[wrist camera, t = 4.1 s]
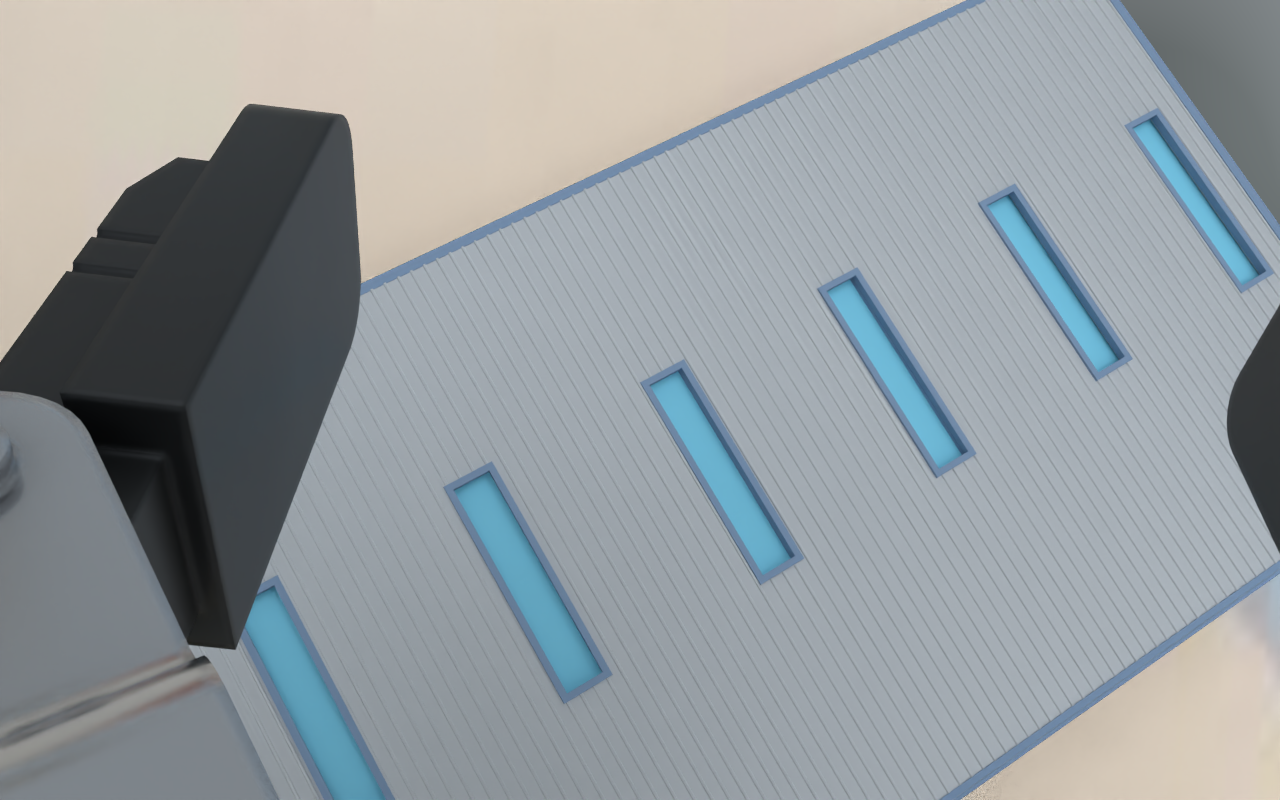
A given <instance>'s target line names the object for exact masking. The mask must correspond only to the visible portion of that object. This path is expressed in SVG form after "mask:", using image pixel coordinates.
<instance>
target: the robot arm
mask: <svg viewBox="0 0 1280 800" xmlns="http://www.w3.org/2000/svg"><path fill="white" fill-rule="evenodd" d="M360 290H361V272H360V256H359V241H358V226H357V211H356V195H355V180H354V165H353V150H352V139H351V133H350V128H349V124H348V122H347V119H346V118H345V117H344V116H343V115H341V114H333V113H325V112H316V111H308V110H300V109H291V108H283V107H275V106H266V105H258V104H249V105H247V106H246V107H245V108H244V109H243V110H242V111H241V113H240V114H239V116H238V118H237V119H236V121H235V122H234V124H233V125H232V127H231V128H230V130H229V131H228V133H227V134H226V136H225V138H224V139H223V141H222V142H221V144H220V145H219V147H218V148H217V150H216V151H215V153H214V155H213V156H212V158H211V159H210V161H204V160H196V159H188V158H179V157H178V158H176V159H174V160H173V161H171V162H169V163H168V164H166V165H165V166H163V167H161V168H160V169H158V170H156V171H155V172H153V173H151V174H150V175H148V176H146V177H145V178H143V179H142V180H140V181H138V182H137V183H135V184H133V185H132V186H130V187H128V188H127V189H126V190H125V191H124V193H123V194H122V195H121V197H120V198H119V200H118V201H117V202H116V204H115V205H114V206H113V208H112V209H111V211H110V212H109V213H108V215H107V216H106V217H105V219H104V220H103V222H102V223H101V224H100V226H99V227H98V229H97V238H96V237H91V238H90V240H89V241H88V242H87V244H86V245H85V246H84V248H83V249H82V251H81V252H80V253H79V255H78V256H77V257H76V259H75V260H74V262H73V270H72V272H70V271H66V273H65V274H64V275H63V277H62V278H61V279H60V281H59V282H58V284H57V285H56V286H55V288H54V289H53V290H52V292H51V293H50V295H49V296H48V297H47V299H46V300H45V301H44V303H43V304H42V306H41V307H40V308H39V310H38V311H37V312H36V314H35V315H34V317H33V318H32V319H31V321H30V322H29V323H28V325H27V326H26V328H25V329H24V330H23V332H22V333H21V334H20V336H19V337H18V339H17V340H16V341H15V343H14V344H13V345H12V347H11V348H10V350H9V351H8V352H7V354H6V355H5V357H4V358H3V359H2V361H1V362H0V800H280V799H279V797H278V795H277V793H276V791H275V789H274V787H273V785H272V783H271V781H270V778H269V776H268V774H267V772H266V770H265V768H264V766H263V764H262V762H261V760H260V758H259V756H258V753H257V751H256V749H255V747H254V745H253V743H252V741H251V739H250V737H249V735H248V733H247V731H246V729H245V726H244V724H243V722H242V720H241V718H240V716H239V714H238V712H237V710H236V708H235V706H234V704H233V701H232V699H231V697H230V695H229V693H228V691H227V689H226V687H225V685H224V683H223V682H222V680H221V678H220V676H219V674H218V672H217V671H216V669H215V668H214V666H213V664H212V663H211V662H210V660H209V659H208V658H207V657H206V656H205V655H203V656H201V657H198V658H195V656H194V654H193V653H192V651H191V649H190V647H189V645H193V646H203V647H212V648H221V649H231V650H236V648H237V645H238V642H239V640H240V637H241V635H242V632H243V629H244V627H245V624H246V621H247V619H248V616H249V614H250V611H251V608H252V606H253V603H254V600H255V598H256V595H257V593H258V590H259V587H260V585H261V582H262V579H263V577H264V574H265V572H266V569H267V566H268V564H269V561H270V558H271V556H272V553H273V551H274V548H275V545H276V543H277V540H278V537H279V535H280V532H281V529H282V527H283V524H284V522H285V519H286V516H287V514H288V511H289V508H290V506H291V503H292V501H293V498H294V495H295V493H296V490H297V487H298V485H299V482H300V480H301V477H302V474H303V472H304V469H305V466H306V464H307V461H308V459H309V456H310V453H311V451H312V448H313V445H314V443H315V440H316V438H317V435H318V432H319V430H320V427H321V424H322V422H323V419H324V417H325V414H326V411H327V409H328V406H329V403H330V401H331V398H332V396H333V393H334V390H335V388H336V385H337V382H338V380H339V377H340V375H341V372H342V369H343V367H344V364H345V361H346V359H347V356H348V354H349V351H350V348H351V345H352V342H353V338H354V335H355V330H356V325H357V319H358V313H359V304H360ZM1227 434H1228V440H1229V444H1230V448H1231V450H1232V453H1233V455H1234V457H1235V459H1236V461H1237V464H1238V466H1239V468H1240V470H1241V472H1242V474H1243V476H1244V479H1245V481H1246V483H1247V485H1248V487H1249V489H1250V491H1251V494H1252V496H1253V498H1254V500H1255V502H1256V504H1257V506H1258V509H1259V511H1260V513H1261V515H1262V517H1263V519H1264V521H1265V524H1266V526H1267V528H1268V530H1269V532H1270V534H1271V536H1272V539H1273V541H1274V543H1275V545H1276V547H1277V549H1278V551H1279V554H1280V305H1279V306H1278V308H1277V310H1276V312H1275V313H1274V315H1273V317H1272V318H1271V320H1270V322H1269V324H1268V325H1267V327H1266V329H1265V330H1264V332H1263V334H1262V336H1261V337H1260V339H1259V341H1258V342H1257V344H1256V346H1255V348H1254V349H1253V351H1252V353H1251V354H1250V356H1249V358H1248V360H1247V361H1246V363H1245V365H1244V366H1243V368H1242V370H1241V372H1240V373H1239V375H1238V377H1237V379H1236V381H1235V383H1234V386H1233V389H1232V391H1231V395H1230V399H1229V404H1228V410H1227Z"/></svg>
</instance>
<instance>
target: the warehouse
mask: <svg viewBox="0 0 1280 800" xmlns="http://www.w3.org/2000/svg"><path fill="white" fill-rule="evenodd" d="M1279 305H1280V225H1279V224H1278V222H1277V221H1276V220H1275V218H1274V217H1273V215H1272V214H1271V212H1270V211H1269V210H1268V208H1267V207H1266V205H1265V204H1264V203H1263V201H1262V200H1261V198H1260V197H1259V196H1258V194H1257V193H1256V191H1255V190H1254V188H1253V187H1252V186H1251V184H1250V183H1249V181H1248V180H1247V179H1246V177H1245V176H1244V174H1243V173H1242V172H1241V170H1240V169H1239V167H1238V166H1237V164H1236V163H1235V162H1234V160H1233V159H1232V158H1231V156H1230V155H1229V153H1228V152H1227V150H1226V149H1225V148H1224V146H1223V145H1222V144H1221V142H1220V141H1219V139H1218V138H1217V136H1216V135H1215V134H1214V132H1213V131H1212V129H1211V128H1210V127H1209V125H1208V124H1207V122H1206V121H1205V119H1204V118H1203V117H1202V115H1201V114H1200V113H1199V111H1198V110H1197V108H1196V107H1195V105H1194V104H1193V103H1192V101H1191V100H1190V98H1189V97H1188V96H1187V94H1186V93H1185V91H1184V90H1183V89H1182V87H1181V86H1180V84H1179V83H1178V82H1177V80H1176V79H1175V77H1174V76H1173V74H1172V73H1171V72H1170V70H1169V69H1168V67H1167V66H1166V65H1165V63H1164V62H1163V60H1162V59H1161V58H1160V56H1159V55H1158V53H1157V52H1156V51H1155V49H1154V48H1153V46H1152V45H1151V44H1150V42H1149V41H1148V39H1147V38H1146V37H1145V35H1144V34H1143V32H1142V31H1141V29H1140V28H1139V27H1138V25H1137V24H1136V23H1135V21H1134V20H1133V18H1132V17H1131V15H1130V14H1129V13H1128V12H1127V10H1126V8H1125V7H1124V6H1123V4H1122V3H1121V1H1120V0H966V1H964V2H962V3H960V4H958V5H956V6H953V7H951V8H949V9H947V10H945V11H943V12H941V13H938V14H936V15H934V16H932V17H930V18H928V19H926V20H923V21H921V22H919V23H917V24H915V25H913V26H911V27H908V28H906V29H904V30H902V31H900V32H898V33H896V34H894V35H891V36H889V37H887V38H885V39H883V40H881V41H879V42H876V43H874V44H872V45H870V46H868V47H866V48H864V49H861V50H859V51H857V52H855V53H853V54H851V55H849V56H847V57H844V58H842V59H840V60H838V61H836V62H834V63H832V64H829V65H827V66H825V67H823V68H821V69H819V70H817V71H814V72H812V73H810V74H808V75H806V76H804V77H802V78H799V79H797V80H795V81H793V82H791V83H789V84H787V85H785V86H782V87H780V88H778V89H776V90H774V91H772V92H770V93H767V94H765V95H763V96H761V97H759V98H757V99H755V100H752V101H750V102H748V103H746V104H744V105H742V106H740V107H738V108H735V109H733V110H731V111H729V112H727V113H725V114H723V115H720V116H718V117H716V118H714V119H712V120H710V121H708V122H705V123H703V124H701V125H699V126H697V127H695V128H693V129H691V130H688V131H686V132H684V133H682V134H680V135H678V136H676V137H673V138H671V139H669V140H667V141H665V142H663V143H661V144H658V145H656V146H654V147H652V148H650V149H648V150H646V151H643V152H641V153H639V154H637V155H635V156H633V157H631V158H629V159H626V160H624V161H622V162H620V163H618V164H616V165H614V166H611V167H609V168H607V169H605V170H603V171H601V172H599V173H596V174H594V175H592V176H590V177H588V178H586V179H584V180H582V181H579V182H577V183H575V184H573V185H571V186H569V187H567V188H564V189H562V190H560V191H558V192H556V193H554V194H552V195H549V196H547V197H545V198H543V199H541V200H539V201H537V202H534V203H532V204H530V205H528V206H526V207H524V208H522V209H520V210H517V211H515V212H513V213H511V214H509V215H507V216H505V217H502V218H500V219H498V220H496V221H494V222H492V223H490V224H487V225H485V226H483V227H481V228H479V229H477V230H475V231H473V232H470V233H468V234H466V235H464V236H462V237H460V238H458V239H455V240H453V241H451V242H449V243H447V244H445V245H443V246H440V247H438V248H436V249H434V250H432V251H430V252H428V253H425V254H423V255H421V256H419V257H417V258H415V259H413V260H411V261H408V262H406V263H404V264H402V265H400V266H398V267H396V268H393V269H391V270H389V271H387V272H385V273H383V274H381V275H378V276H376V277H374V278H372V279H370V280H368V281H366V282H364V283H361V290H360V304H359V313H358V319H357V325H356V330H355V335H354V338H353V342H352V345H351V348H350V351H349V354H348V356H347V359H346V361H345V364H344V367H343V369H342V372H341V375H340V377H339V380H338V382H337V385H336V388H335V390H334V393H333V396H332V398H331V401H330V403H329V406H328V409H327V411H326V414H325V417H324V419H323V422H322V424H321V427H320V430H319V432H318V435H317V438H316V440H315V443H314V445H313V448H312V451H311V453H310V456H309V459H308V461H307V464H306V466H305V469H304V472H303V474H302V477H301V480H300V482H299V485H298V487H297V490H296V493H295V495H294V498H293V501H292V503H291V506H290V508H289V511H288V514H287V516H286V519H285V522H284V524H283V527H282V529H281V532H280V535H279V537H278V540H277V543H276V545H275V548H274V551H273V553H272V556H271V558H270V561H269V564H268V566H267V569H266V572H265V574H264V577H263V579H262V582H261V585H260V587H259V590H258V593H257V595H256V598H255V600H254V603H253V606H252V608H251V611H250V614H249V616H248V619H247V621H246V624H245V627H244V629H243V632H242V635H241V637H240V640H239V642H238V645H237V648H236V650H231V649H221V648H212V647H203V646H193V645H189V647H190V649H191V651H192V653H193V654H194V656H195V658H198V657H201V656H203V655H205V656H206V657H207V658H208V659H209V660H210V662H211V663H212V664H213V666H214V668H215V669H216V671H217V672H218V674H219V676H220V678H221V680H222V682H223V683H224V685H225V687H226V689H227V691H228V693H229V695H230V697H231V699H232V701H233V704H234V706H235V708H236V710H237V712H238V714H239V716H240V718H241V720H242V722H243V724H244V726H245V729H246V731H247V733H248V735H249V737H250V739H251V741H252V743H253V745H254V747H255V749H256V751H257V753H258V756H259V758H260V760H261V762H262V764H263V766H264V768H265V770H266V772H267V774H268V776H269V778H270V781H271V783H272V785H273V787H274V789H275V791H276V793H277V795H278V797H279V799H280V800H960V799H962V798H963V797H965V796H966V795H967V794H969V793H970V792H972V791H973V790H975V789H976V788H977V787H979V786H980V785H982V784H983V783H984V782H986V781H987V780H989V779H990V778H991V777H993V776H994V775H996V774H997V773H999V772H1000V771H1001V770H1003V769H1004V768H1006V767H1007V766H1008V765H1010V764H1011V763H1013V762H1014V761H1016V760H1017V759H1018V758H1020V757H1021V756H1023V755H1024V754H1025V753H1027V752H1028V751H1030V750H1031V749H1032V748H1034V747H1035V746H1037V745H1038V744H1040V743H1041V742H1042V741H1044V740H1045V739H1047V738H1048V737H1049V736H1051V735H1052V734H1054V733H1055V732H1056V731H1058V730H1059V729H1061V728H1062V727H1064V726H1065V725H1066V724H1068V723H1069V722H1071V721H1072V720H1073V719H1075V718H1076V717H1078V716H1079V715H1080V714H1082V713H1083V712H1085V711H1086V710H1088V709H1089V708H1090V707H1092V706H1093V705H1095V704H1096V703H1097V702H1099V701H1100V700H1102V699H1103V698H1104V697H1106V696H1107V695H1109V694H1110V693H1112V692H1113V691H1114V690H1116V689H1117V688H1119V687H1120V686H1121V685H1123V684H1124V683H1126V682H1127V681H1129V680H1130V679H1131V678H1133V677H1134V676H1136V675H1137V674H1138V673H1140V672H1141V671H1143V670H1144V669H1145V668H1147V667H1148V666H1150V665H1151V664H1153V663H1154V662H1155V661H1157V660H1158V659H1160V658H1161V657H1162V656H1164V655H1165V654H1167V653H1168V652H1169V651H1171V650H1172V649H1174V648H1175V647H1177V646H1178V645H1179V644H1181V643H1182V642H1184V641H1185V640H1186V639H1188V638H1189V637H1191V636H1192V635H1193V634H1195V633H1196V632H1198V631H1199V630H1201V629H1202V628H1203V627H1205V626H1206V625H1208V624H1209V623H1210V622H1212V621H1213V620H1215V619H1216V618H1218V617H1219V616H1220V615H1222V614H1223V613H1225V612H1226V611H1227V610H1229V609H1230V608H1232V607H1233V606H1234V605H1236V604H1237V603H1239V602H1240V601H1242V600H1243V599H1244V598H1246V597H1247V596H1249V595H1250V594H1251V593H1253V592H1254V591H1256V590H1257V589H1258V588H1260V587H1261V586H1263V585H1264V584H1266V583H1267V582H1268V581H1270V580H1271V579H1273V578H1274V577H1275V576H1277V575H1278V574H1280V554H1279V551H1278V549H1277V547H1276V545H1275V543H1274V541H1273V539H1272V536H1271V534H1270V532H1269V530H1268V528H1267V526H1266V524H1265V521H1264V519H1263V517H1262V515H1261V513H1260V511H1259V509H1258V506H1257V504H1256V502H1255V500H1254V498H1253V496H1252V494H1251V491H1250V489H1249V487H1248V485H1247V483H1246V481H1245V479H1244V476H1243V474H1242V472H1241V470H1240V468H1239V466H1238V464H1237V461H1236V459H1235V457H1234V455H1233V453H1232V450H1231V448H1230V444H1229V440H1228V434H1227V410H1228V404H1229V399H1230V395H1231V391H1232V389H1233V386H1234V383H1235V381H1236V379H1237V377H1238V375H1239V373H1240V372H1241V370H1242V368H1243V366H1244V365H1245V363H1246V361H1247V360H1248V358H1249V356H1250V354H1251V353H1252V351H1253V349H1254V348H1255V346H1256V344H1257V342H1258V341H1259V339H1260V337H1261V336H1262V334H1263V332H1264V330H1265V329H1266V327H1267V325H1268V324H1269V322H1270V320H1271V318H1272V317H1273V315H1274V313H1275V312H1276V310H1277V308H1278V306H1279Z"/></svg>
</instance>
